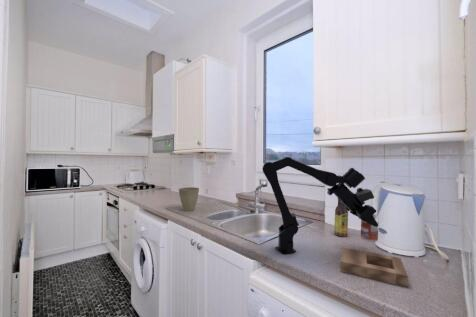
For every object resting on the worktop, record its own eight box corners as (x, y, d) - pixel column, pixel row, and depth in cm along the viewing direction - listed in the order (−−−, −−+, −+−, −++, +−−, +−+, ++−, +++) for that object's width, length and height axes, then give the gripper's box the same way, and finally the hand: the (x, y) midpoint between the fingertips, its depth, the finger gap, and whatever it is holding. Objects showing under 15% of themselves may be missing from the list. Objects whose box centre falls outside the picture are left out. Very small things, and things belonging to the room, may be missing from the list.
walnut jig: (340, 271, 78) (340, 261, 78) (343, 255, 90) (343, 247, 90) (407, 287, 68) (407, 276, 68) (400, 267, 81) (400, 258, 81)
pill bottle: (357, 236, 93) (358, 210, 93) (371, 236, 94) (371, 210, 94) (366, 242, 87) (367, 214, 87) (381, 242, 88) (382, 214, 87)
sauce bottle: (343, 238, 110) (344, 198, 109) (331, 234, 115) (332, 196, 114) (350, 235, 113) (350, 197, 113) (338, 231, 119) (339, 195, 118)
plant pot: (186, 206, 174) (186, 186, 174) (202, 208, 168) (202, 188, 168) (174, 211, 160) (174, 189, 160) (191, 213, 154) (191, 190, 154)
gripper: (371, 185, 81) (402, 216, 80) (351, 180, 100) (377, 205, 99) (348, 205, 82) (379, 236, 81) (333, 196, 101) (358, 221, 100)
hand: (373, 223), depth 90 cm, fingers closed on pill bottle, 6 cm apart
